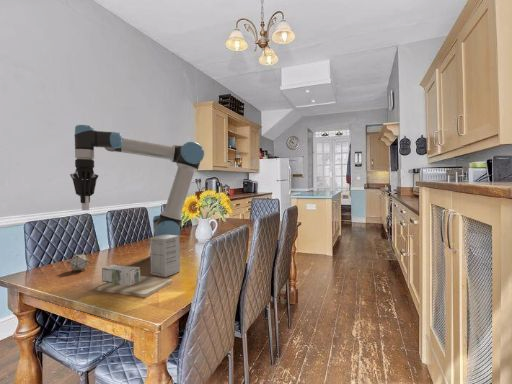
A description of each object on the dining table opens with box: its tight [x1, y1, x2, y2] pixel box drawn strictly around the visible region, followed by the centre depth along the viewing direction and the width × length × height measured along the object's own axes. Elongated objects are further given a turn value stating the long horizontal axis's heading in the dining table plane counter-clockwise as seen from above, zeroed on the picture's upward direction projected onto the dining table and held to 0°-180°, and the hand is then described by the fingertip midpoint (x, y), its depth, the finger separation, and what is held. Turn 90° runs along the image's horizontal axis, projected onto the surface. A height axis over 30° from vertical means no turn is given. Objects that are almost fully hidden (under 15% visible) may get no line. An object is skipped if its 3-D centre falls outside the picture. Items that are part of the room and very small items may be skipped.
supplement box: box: [149, 234, 181, 278], centre depth 125 cm, size 10×9×17 cm
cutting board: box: [97, 275, 173, 299], centre depth 109 cm, size 22×16×1 cm
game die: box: [66, 252, 91, 273], centre depth 129 cm, size 9×8×10 cm
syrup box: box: [101, 263, 141, 286], centre depth 111 cm, size 6×6×14 cm
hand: (85, 209), depth 128 cm, fingers closed
